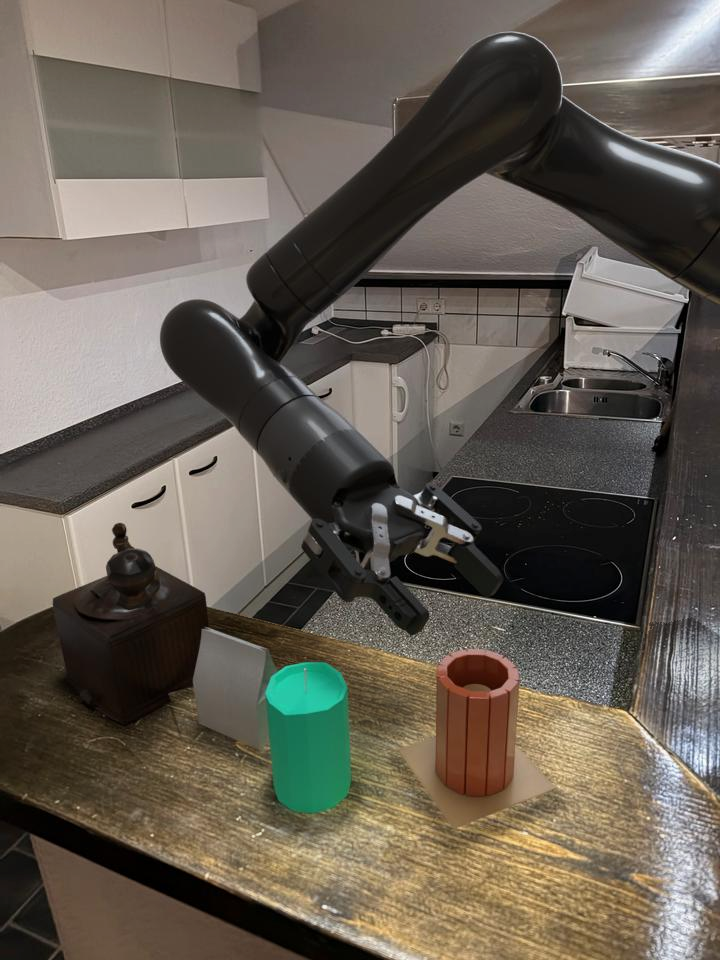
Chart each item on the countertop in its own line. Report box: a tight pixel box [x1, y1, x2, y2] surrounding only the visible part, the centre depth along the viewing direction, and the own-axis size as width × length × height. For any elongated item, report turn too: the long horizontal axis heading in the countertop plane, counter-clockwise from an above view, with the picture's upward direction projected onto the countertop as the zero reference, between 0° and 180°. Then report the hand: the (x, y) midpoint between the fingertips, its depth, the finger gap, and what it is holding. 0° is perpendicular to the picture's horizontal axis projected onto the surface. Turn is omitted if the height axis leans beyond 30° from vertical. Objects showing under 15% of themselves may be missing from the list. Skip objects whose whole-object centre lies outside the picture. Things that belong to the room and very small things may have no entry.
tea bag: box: [193, 627, 279, 751], centre depth 64 cm, size 4×7×10 cm, turn 59°
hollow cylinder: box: [435, 648, 520, 797], centre depth 58 cm, size 6×6×9 cm
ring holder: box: [397, 684, 557, 830], centre depth 59 cm, size 9×9×8 cm
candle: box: [265, 661, 352, 814], centre depth 57 cm, size 6×6×12 cm
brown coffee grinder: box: [52, 522, 210, 726], centre depth 69 cm, size 16×11×18 cm
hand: (461, 606), depth 54 cm, fingers open, 8 cm apart
